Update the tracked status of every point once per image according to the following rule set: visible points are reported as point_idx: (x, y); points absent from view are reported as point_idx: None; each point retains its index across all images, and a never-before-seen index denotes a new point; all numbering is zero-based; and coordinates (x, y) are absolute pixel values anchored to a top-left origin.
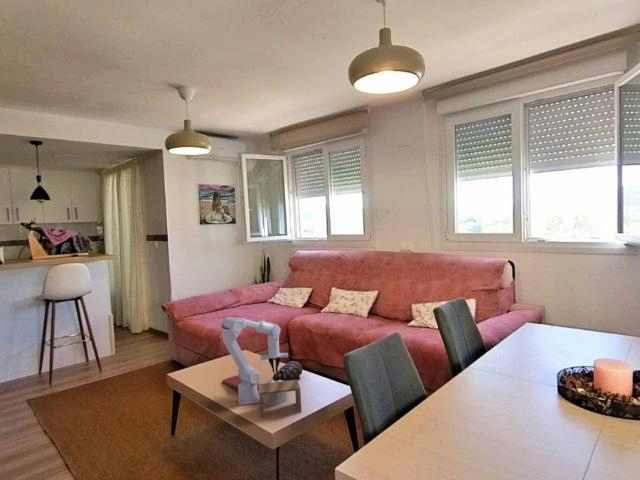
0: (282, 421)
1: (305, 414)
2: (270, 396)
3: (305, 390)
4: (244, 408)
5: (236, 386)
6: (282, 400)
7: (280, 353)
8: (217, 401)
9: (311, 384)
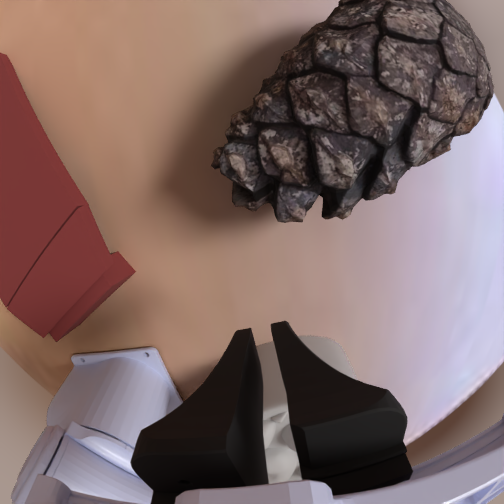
0: None
1: None
2: None
3: (438, 290)
4: None
5: (10, 306)
6: None
7: (461, 489)
8: (11, 356)
9: (474, 210)
